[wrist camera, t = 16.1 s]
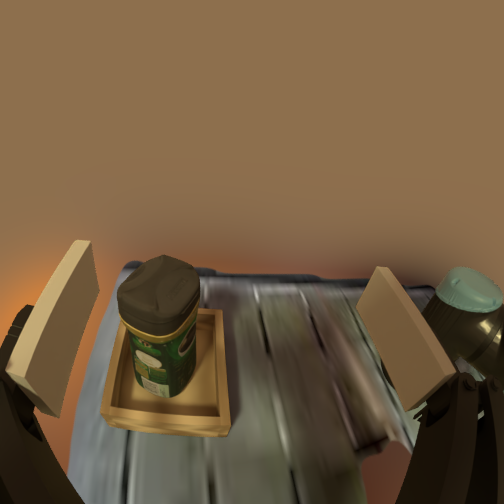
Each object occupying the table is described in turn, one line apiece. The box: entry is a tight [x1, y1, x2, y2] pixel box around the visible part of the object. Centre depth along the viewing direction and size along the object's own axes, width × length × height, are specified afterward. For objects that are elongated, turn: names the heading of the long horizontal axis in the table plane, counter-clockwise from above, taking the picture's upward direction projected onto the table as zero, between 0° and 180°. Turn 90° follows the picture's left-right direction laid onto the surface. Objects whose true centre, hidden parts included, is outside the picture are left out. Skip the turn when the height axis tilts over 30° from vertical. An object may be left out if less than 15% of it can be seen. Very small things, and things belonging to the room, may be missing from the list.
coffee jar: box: [117, 255, 200, 398], centre depth 32 cm, size 10×8×19 cm
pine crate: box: [100, 308, 231, 437], centre depth 36 cm, size 16×20×5 cm
